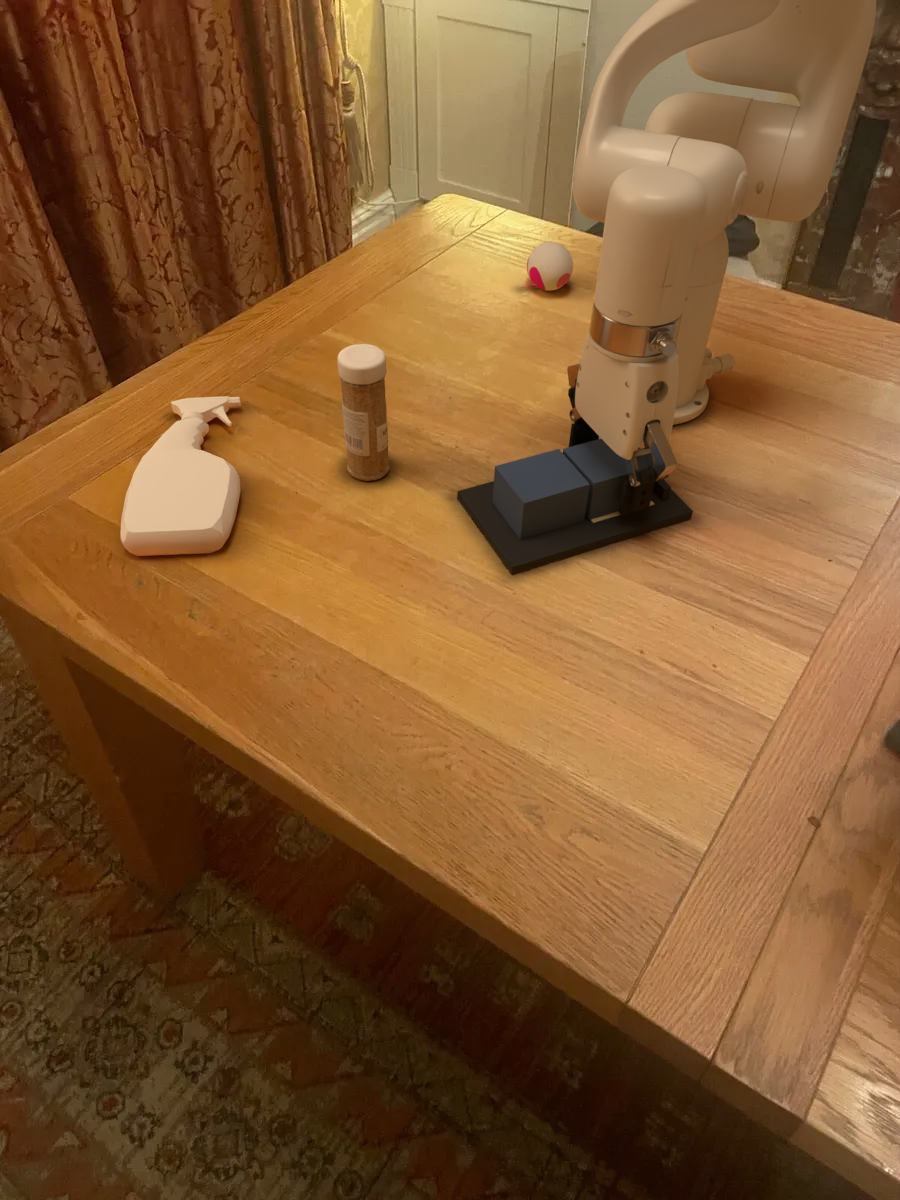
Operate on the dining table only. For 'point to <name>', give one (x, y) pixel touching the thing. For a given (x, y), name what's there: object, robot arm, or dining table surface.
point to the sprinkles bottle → (364, 410)
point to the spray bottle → (182, 487)
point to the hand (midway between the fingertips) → (606, 481)
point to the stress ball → (549, 266)
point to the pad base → (569, 534)
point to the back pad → (601, 475)
